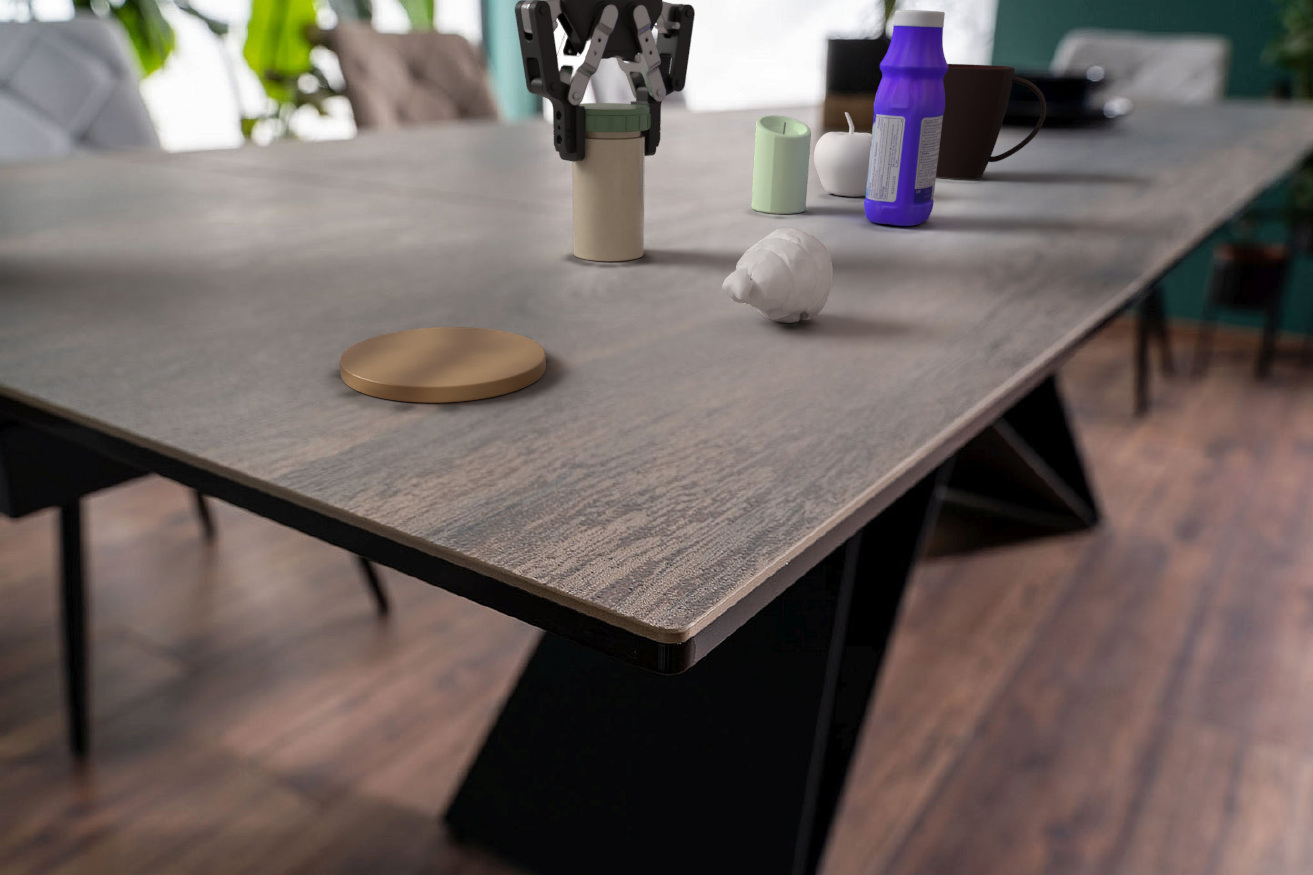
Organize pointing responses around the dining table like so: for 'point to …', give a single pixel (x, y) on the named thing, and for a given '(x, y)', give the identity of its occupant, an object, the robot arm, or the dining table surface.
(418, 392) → the coaster
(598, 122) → the lid
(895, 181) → the bottle
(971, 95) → the cup
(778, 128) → the candle
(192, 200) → the dining table surface
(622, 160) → the jar
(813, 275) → the garlic bulb
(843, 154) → the plain white apple
